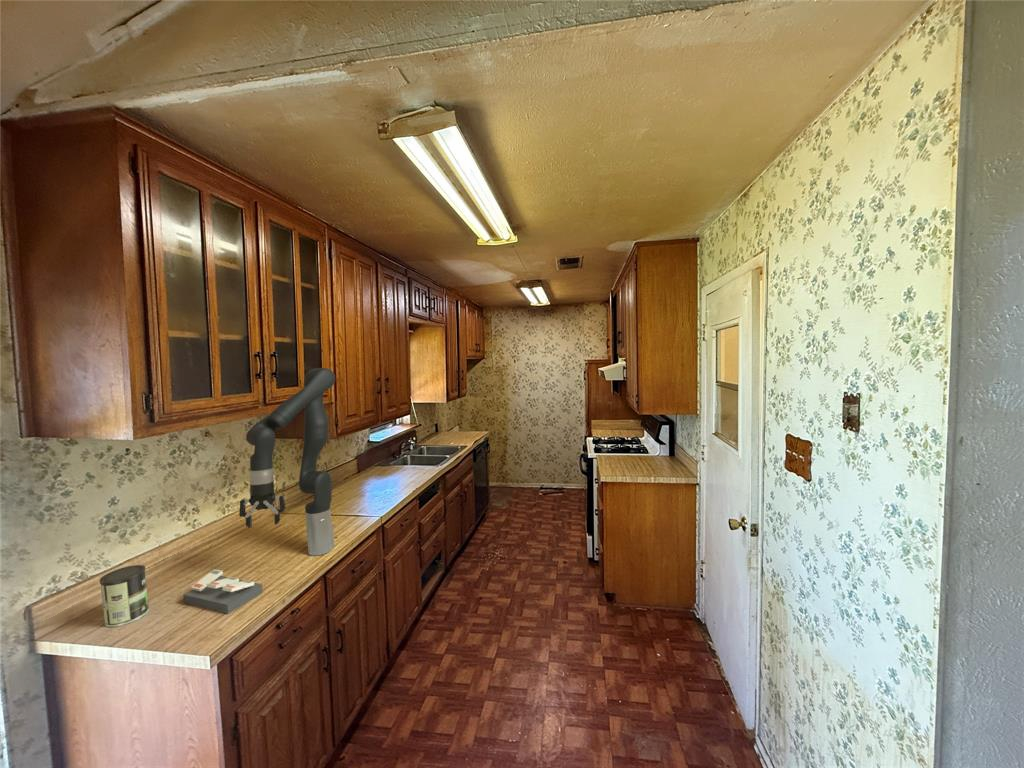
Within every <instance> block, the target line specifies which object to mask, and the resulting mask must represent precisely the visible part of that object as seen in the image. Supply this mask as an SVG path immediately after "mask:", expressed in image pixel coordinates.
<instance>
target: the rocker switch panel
mask: <svg viewBox="0 0 1024 768" xmlns="http://www.w3.org/2000/svg"><path fill="white" fill-rule="evenodd" d="M226 578H230V577H227V576H224V575H220V576H219V577H218V578H217V579H215V580H214V581H218V580H222V579H226ZM241 581H245V580H244V579H243V580H242V579H239V582H241ZM237 583H238V582H237ZM230 585H231V584H230ZM222 588H223V587H219V588H216V589H215V588H210V587H205V588H204V589H203V590H202V591H196V590H192V589H191V590H189V591H187V592H185V593H184V594H183V595H182V596H183V604H185V605H188V606H193V607H197V608H201V609H206V610H211V611H213V612H218V613H222V614H227V615H229V614H231V613H232V612H234V611H235V610H237V609H239V608H240V607H243V606H244V605H245V604H247V603H249V602H250V601H252V600H253V599H255V598H257V597H258V596H260V595H261V594H263V584H262V583H257V582H254V585H253V586H250V587H246V588H244V589H240V590H236V591H233V592H229V591H224V590H222Z"/></svg>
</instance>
